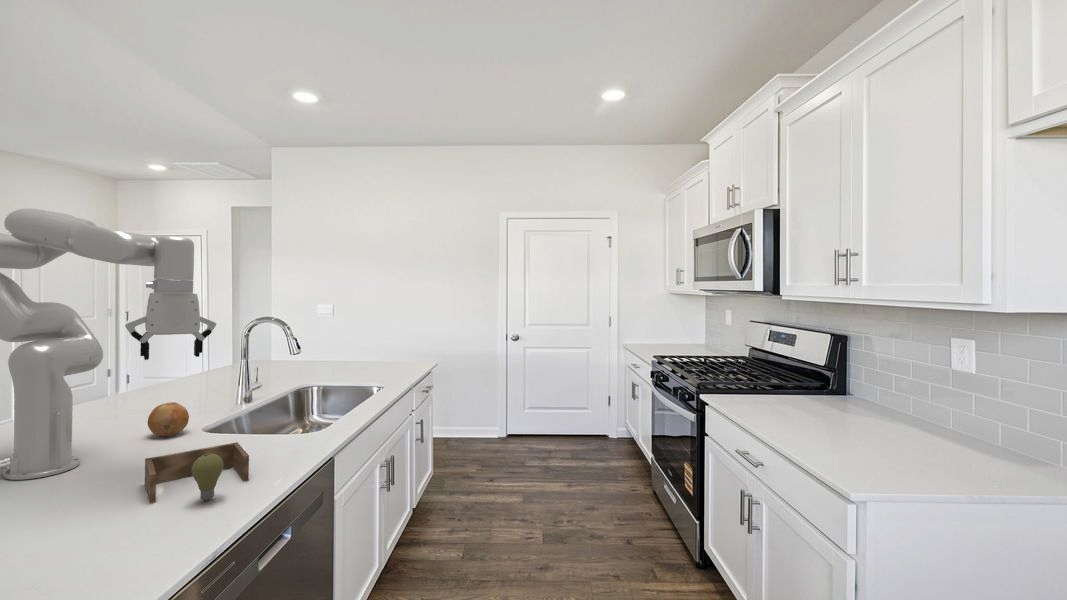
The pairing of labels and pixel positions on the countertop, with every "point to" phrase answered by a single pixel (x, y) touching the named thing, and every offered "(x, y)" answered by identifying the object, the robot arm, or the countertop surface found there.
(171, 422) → the onion
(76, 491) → the countertop surface
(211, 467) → the light bulb
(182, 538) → the countertop surface
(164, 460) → the brown legged wooden frame
